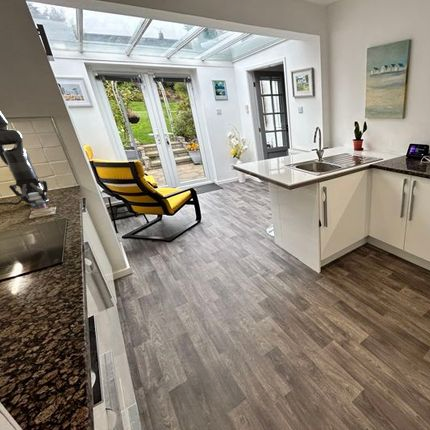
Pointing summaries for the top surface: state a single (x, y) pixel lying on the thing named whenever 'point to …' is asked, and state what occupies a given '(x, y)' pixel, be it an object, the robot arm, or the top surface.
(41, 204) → the pill bottle
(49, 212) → the drawing board
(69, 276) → the top surface
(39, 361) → the top surface
